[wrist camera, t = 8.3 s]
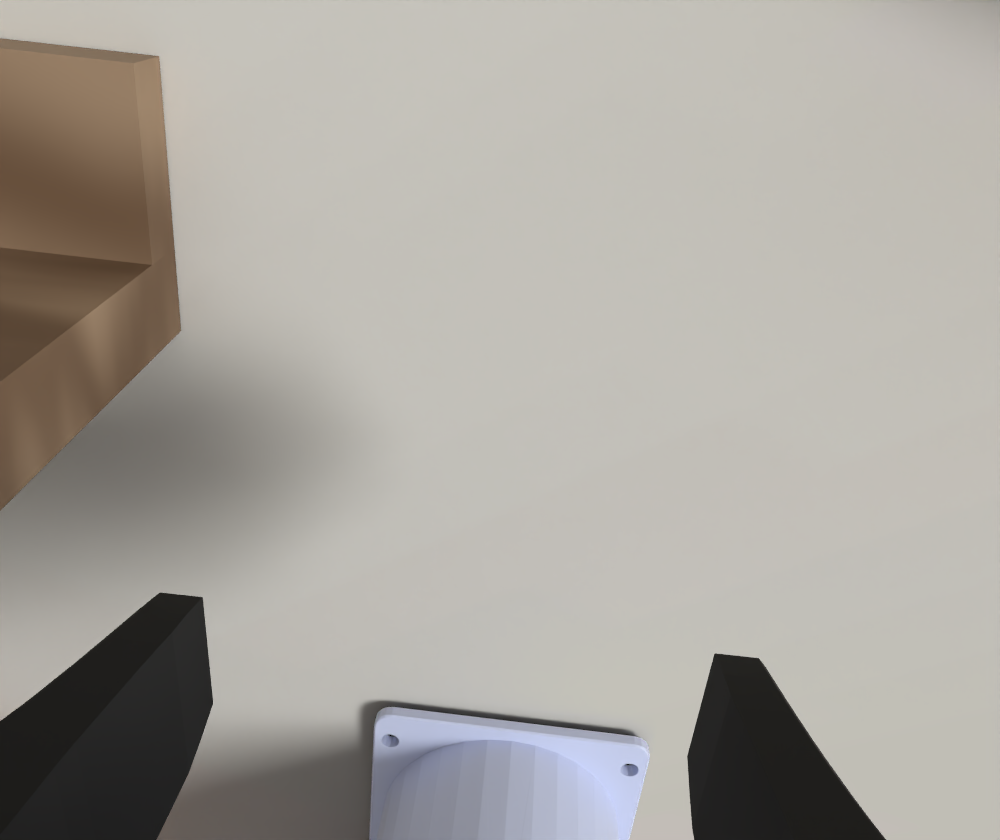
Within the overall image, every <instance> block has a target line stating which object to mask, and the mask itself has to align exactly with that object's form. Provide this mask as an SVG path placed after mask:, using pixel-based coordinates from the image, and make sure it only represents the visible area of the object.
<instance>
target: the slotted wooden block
mask: <svg viewBox="0 0 1000 840" xmlns="http://www.w3.org/2000/svg"><path fill="white" fill-rule="evenodd" d="M180 331H181V326H180V313H179V300H178V288H177V275H176V263H175V250H174V238H173V225H172V213H171V200H170V188H169V175H168V163H167V150H166V137H165V125H164V112H163V100H162V87H161V75H160V62H159V56H151V55H142V54H133V53H124V52H115V51H107V50H98V49H89V48H80V47H71V46H62V45H53V44H44V43H35V42H27V41H18V40H9V39H0V510H1V509H2V508H3V507H4V506H5V505H6V504H7V503H8V502H9V501H10V500H11V499H12V498H13V497H14V496H15V495H16V494H17V493H18V492H19V491H20V490H21V489H22V488H23V487H24V486H25V485H26V484H27V483H28V482H29V481H30V480H31V479H32V478H33V477H34V476H35V475H36V474H37V473H38V472H39V471H40V470H41V469H42V468H43V467H44V466H46V465H47V464H48V463H49V462H50V461H51V460H52V459H53V458H54V457H55V456H56V455H57V454H58V453H59V452H60V451H61V450H62V449H63V448H64V447H65V446H66V445H67V444H68V443H69V442H70V441H71V440H72V439H73V438H74V437H75V436H76V435H77V434H78V433H79V432H80V431H81V430H82V429H83V428H84V427H85V426H86V425H87V424H88V423H89V422H90V421H91V420H92V419H93V418H94V417H95V416H96V415H97V414H98V413H99V412H100V411H101V410H102V409H103V408H104V407H105V406H106V405H107V404H108V403H109V402H110V401H111V400H112V399H113V398H114V397H115V396H116V395H117V394H118V393H119V392H120V391H121V390H122V389H123V388H124V387H125V386H126V385H127V384H128V383H129V382H130V381H131V380H132V379H133V378H134V377H135V376H136V375H137V374H138V373H139V372H140V371H141V370H142V369H143V368H144V367H145V366H146V365H147V364H148V363H149V362H150V361H151V360H152V359H153V358H154V357H155V356H156V355H157V354H158V353H159V352H160V351H161V350H162V349H163V348H164V347H165V346H166V345H167V344H168V343H169V342H170V341H171V340H172V339H173V338H174V337H175V336H176V335H177V334H178V333H179V332H180Z"/></svg>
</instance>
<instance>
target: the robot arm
mask: <svg viewBox="0 0 1000 840" xmlns="http://www.w3.org/2000/svg"><path fill="white" fill-rule="evenodd" d="M212 705H213V697H212V687H211V677H210V667H209V657H208V647H207V637H206V627H205V617H204V607H203V597H195V596H186V595H177V594H168V593H159V594H158V595H156V596H155V597H154V598H152V599H151V600H150V601H149V602H148V603H146V604H145V605H144V606H143V607H141V608H140V609H139V610H138V611H137V612H135V613H134V614H133V615H132V616H131V617H129V618H128V619H127V620H126V621H125V622H123V623H122V624H121V625H120V626H119V627H118V628H116V629H115V630H114V631H113V632H112V633H110V634H109V635H108V636H107V637H106V638H105V639H103V640H102V641H101V642H100V643H99V644H97V645H96V646H95V647H94V648H93V649H91V650H90V651H89V652H88V653H87V654H85V655H84V656H83V657H82V658H81V659H79V660H78V661H77V662H76V663H74V664H73V665H72V666H71V667H69V668H68V669H67V670H66V671H64V672H63V673H62V674H61V675H59V676H58V677H57V678H56V679H54V680H53V681H52V682H51V683H49V684H48V685H47V686H46V687H44V688H43V689H42V690H41V691H39V692H38V693H37V694H36V695H34V696H33V697H32V698H31V699H29V700H28V701H27V702H25V703H24V704H23V705H22V706H20V707H19V708H17V709H16V710H15V711H13V712H12V713H11V714H9V715H8V716H7V717H5V718H4V719H3V720H1V721H0V840H156V839H157V837H158V835H159V833H160V831H161V829H162V827H163V825H164V823H165V821H166V819H167V817H168V815H169V813H170V811H171V809H172V806H173V804H174V802H175V800H176V798H177V796H178V794H179V792H180V790H181V788H182V786H183V784H184V782H185V779H186V777H187V775H188V773H189V771H190V768H191V765H192V762H193V760H194V757H195V754H196V751H197V749H198V746H199V743H200V740H201V737H202V734H203V731H204V728H205V726H206V723H207V720H208V717H209V714H210V711H211V708H212ZM388 734H391V735H394V736H395V737H392V736H388ZM687 757H688V773H689V789H690V804H691V816H692V829H693V834H694V840H886V839H885V838H884V837H883V835H882V834H881V833H880V832H879V830H878V829H877V828H876V827H875V825H874V824H873V823H872V821H871V820H870V819H869V818H868V816H867V815H866V814H865V812H864V811H863V810H862V808H861V807H860V806H859V804H858V803H857V802H856V800H855V799H854V798H853V796H852V795H851V793H850V792H849V791H848V789H847V788H846V786H845V785H844V784H843V782H842V781H841V779H840V778H839V777H838V775H837V774H836V773H835V771H834V770H833V768H832V767H831V766H830V764H829V763H828V761H827V760H826V759H825V757H824V756H823V754H822V753H821V751H820V750H819V748H818V747H817V745H816V744H815V743H814V741H813V740H812V738H811V737H810V735H809V734H808V732H807V731H806V729H805V728H804V726H803V725H802V723H801V722H800V720H799V719H798V717H797V716H796V714H795V712H794V711H793V709H792V708H791V706H790V705H789V703H788V702H787V700H786V699H785V697H784V695H783V694H782V692H781V691H780V689H779V688H778V686H777V684H776V683H775V681H774V680H773V678H772V677H771V675H770V673H769V672H768V670H767V669H766V667H765V666H764V664H763V663H762V662H761V661H760V659H759V658H751V657H742V656H733V655H724V654H714V658H713V662H712V666H711V669H710V673H709V677H708V681H707V684H706V688H705V692H704V696H703V700H702V703H701V707H700V711H699V715H698V718H697V722H696V726H695V730H694V733H693V737H692V741H691V745H690V748H689V752H688V756H687ZM649 759H650V757H649V746H648V744H647V742H646V741H645V740H643V739H642V738H639V737H635V736H629V735H620V734H612V733H604V732H596V731H588V730H579V729H571V728H563V727H555V726H546V725H538V724H530V723H522V722H514V721H505V720H497V719H489V718H481V717H472V716H464V715H456V714H448V713H439V712H431V711H423V710H415V709H407V708H398V707H386V708H383V709H381V710H380V711H379V712H378V713H377V716H376V719H375V723H374V737H373V762H372V786H371V810H370V835H369V840H629V838H630V834H631V830H632V826H633V822H634V818H635V814H636V810H637V806H638V802H639V798H640V795H641V791H642V787H643V783H644V779H645V775H646V771H647V767H648V763H649ZM625 764H633V765H625Z"/></svg>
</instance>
